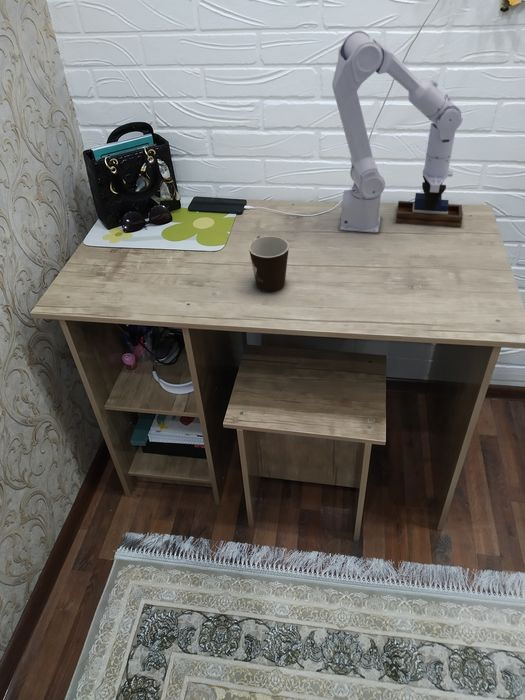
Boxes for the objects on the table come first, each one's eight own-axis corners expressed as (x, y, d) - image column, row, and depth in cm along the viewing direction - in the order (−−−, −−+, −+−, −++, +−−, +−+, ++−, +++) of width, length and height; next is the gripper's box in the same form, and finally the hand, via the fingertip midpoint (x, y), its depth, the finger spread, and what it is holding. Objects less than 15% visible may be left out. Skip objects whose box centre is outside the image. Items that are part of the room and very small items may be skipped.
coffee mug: (288, 296, 126) (287, 257, 119) (249, 295, 127) (246, 257, 120) (292, 266, 134) (291, 229, 127) (255, 265, 135) (253, 228, 128)
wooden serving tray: (395, 222, 146) (396, 214, 145) (397, 207, 152) (398, 199, 150) (460, 227, 143) (462, 218, 141) (460, 212, 149) (461, 203, 147)
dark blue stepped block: (412, 212, 146) (414, 199, 143) (413, 205, 148) (415, 192, 146) (447, 215, 144) (449, 201, 141) (447, 208, 147) (449, 194, 144)
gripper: (456, 168, 130) (446, 221, 139) (455, 142, 140) (446, 193, 150) (424, 166, 132) (416, 218, 141) (426, 141, 142) (418, 191, 151)
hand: (430, 205), depth 145 cm, fingers closed on dark blue stepped block, 3 cm apart
